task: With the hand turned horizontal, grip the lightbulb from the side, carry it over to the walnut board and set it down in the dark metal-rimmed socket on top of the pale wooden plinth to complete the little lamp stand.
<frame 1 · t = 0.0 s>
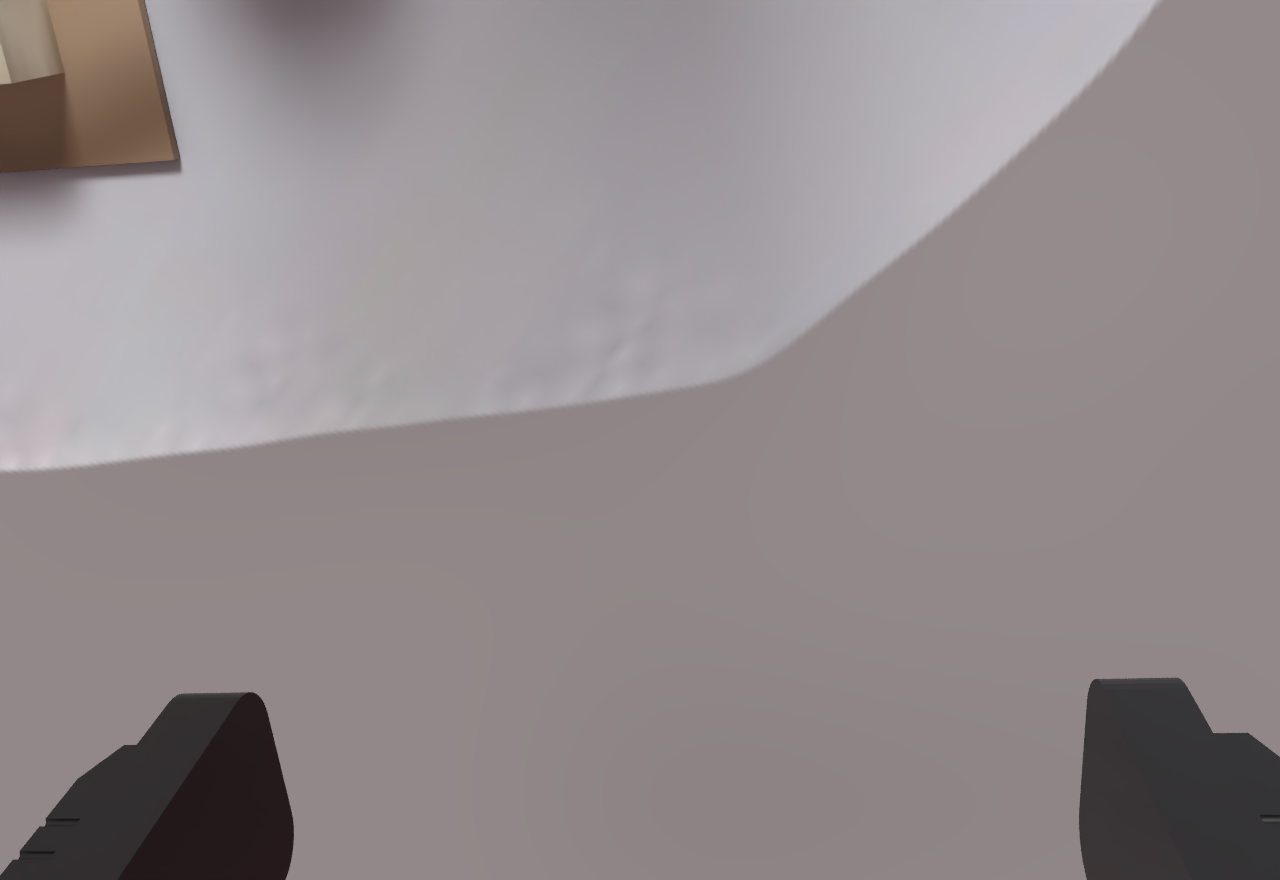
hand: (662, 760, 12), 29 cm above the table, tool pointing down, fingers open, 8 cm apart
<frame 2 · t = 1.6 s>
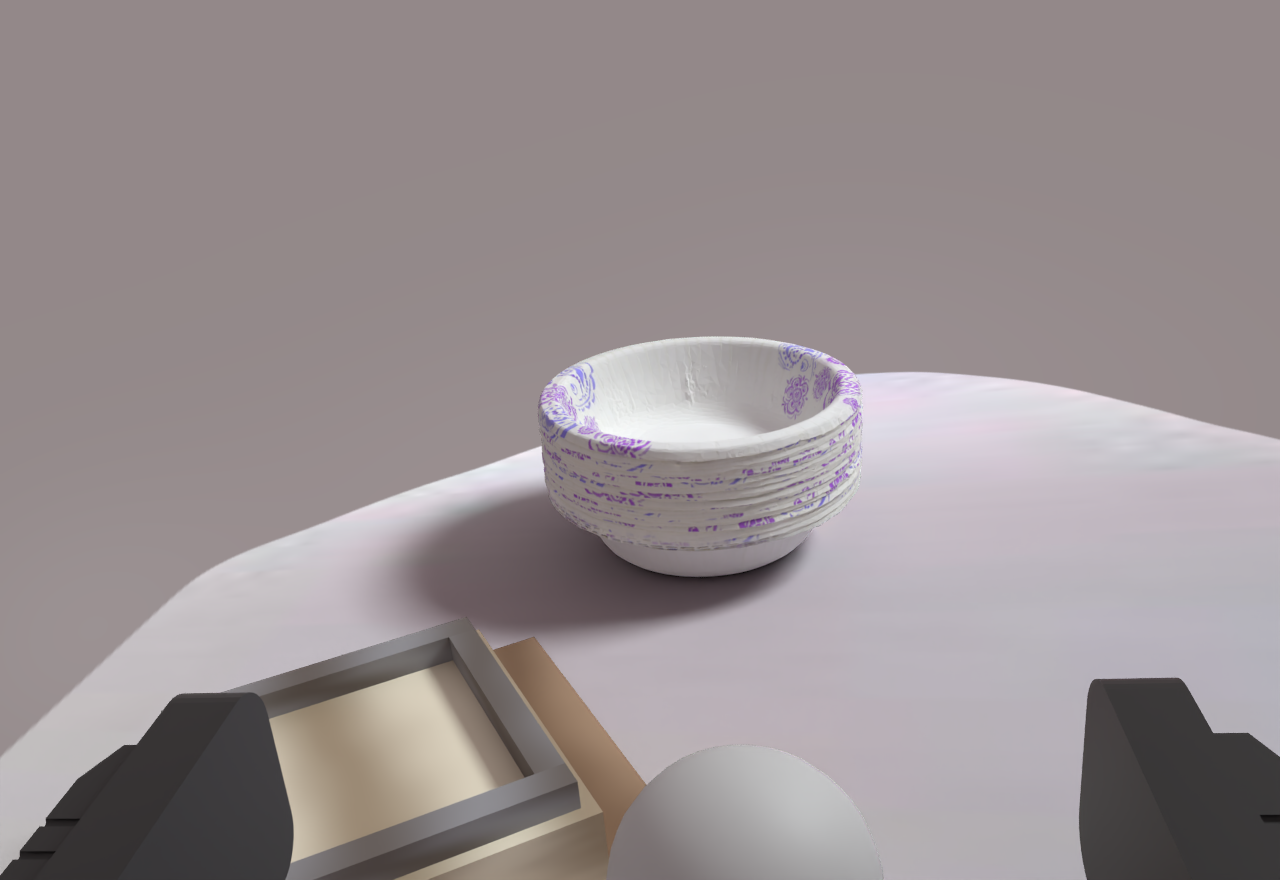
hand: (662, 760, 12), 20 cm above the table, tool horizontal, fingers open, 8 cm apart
paper bowls: (708, 535, 59), on the table
lamp stand: (378, 850, 40), on the table
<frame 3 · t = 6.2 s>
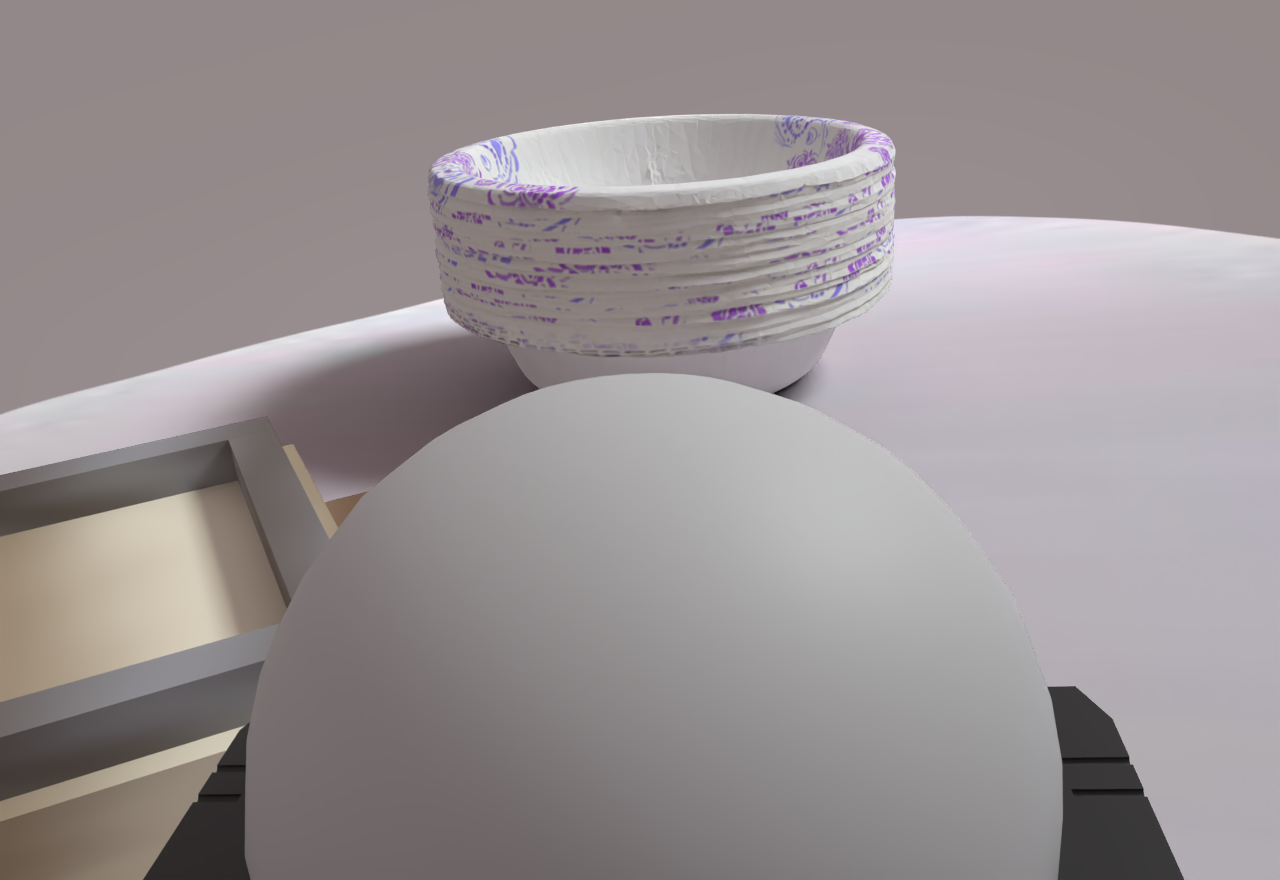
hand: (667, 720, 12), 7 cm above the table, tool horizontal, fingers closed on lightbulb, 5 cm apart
paper bowls: (675, 374, 42), on the table
lamp stand: (66, 778, 23), on the table
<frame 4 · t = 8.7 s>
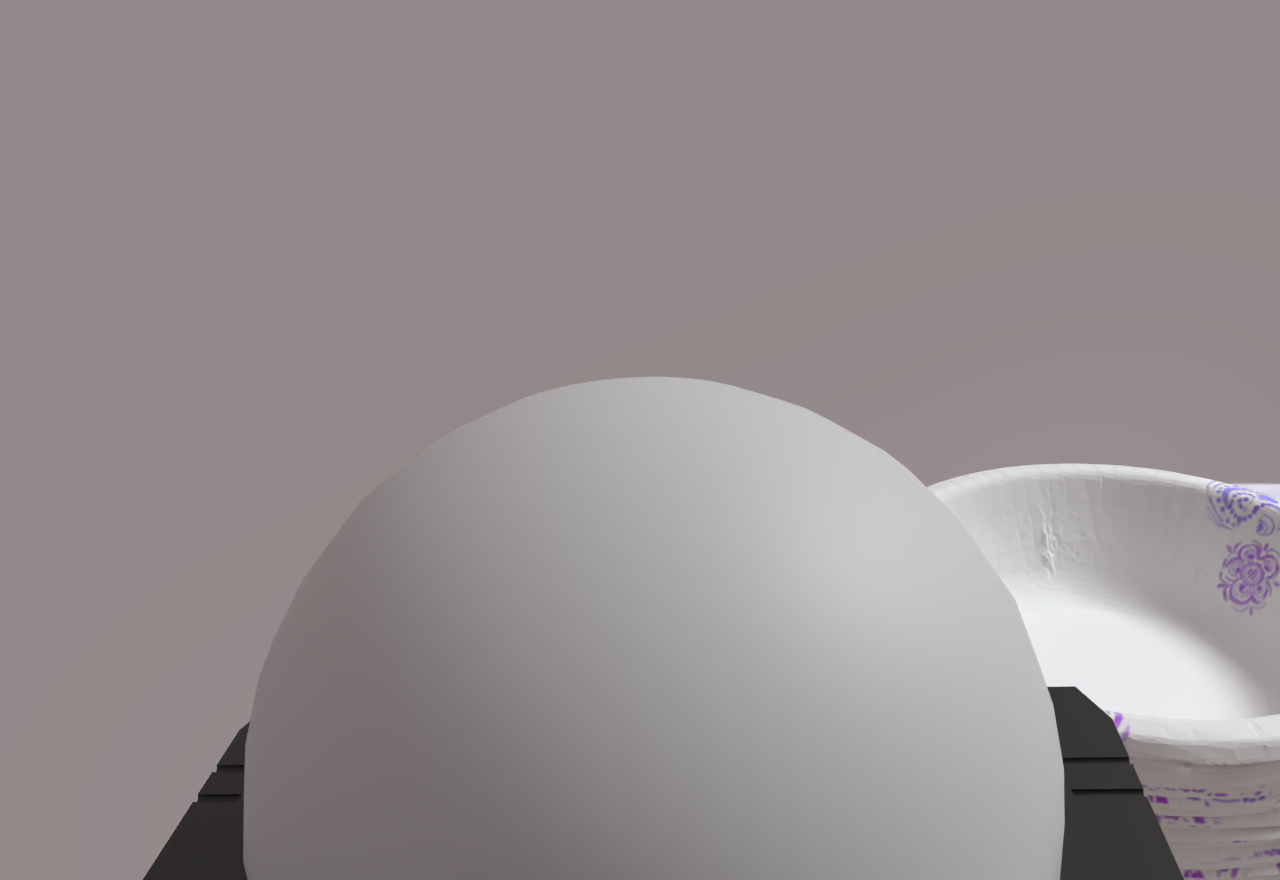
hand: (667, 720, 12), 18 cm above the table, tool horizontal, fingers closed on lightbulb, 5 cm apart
paper bowls: (1102, 801, 36), on the table
when the fingers open (10 cm above the table, at t = 11.7 s): lightbulb stays where it is, resting on lamp stand.
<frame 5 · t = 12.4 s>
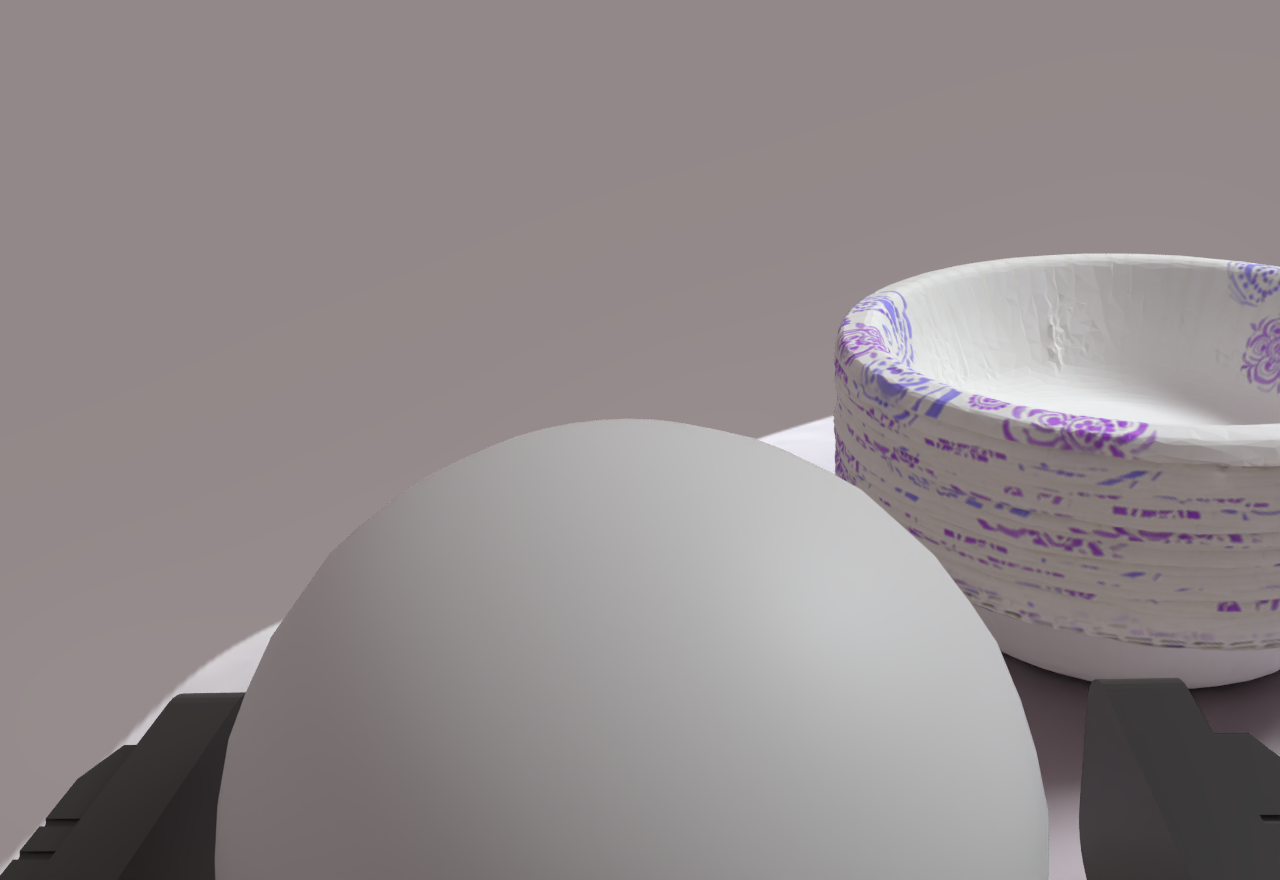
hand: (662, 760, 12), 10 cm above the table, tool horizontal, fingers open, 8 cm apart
paper bowls: (1117, 600, 33), on the table
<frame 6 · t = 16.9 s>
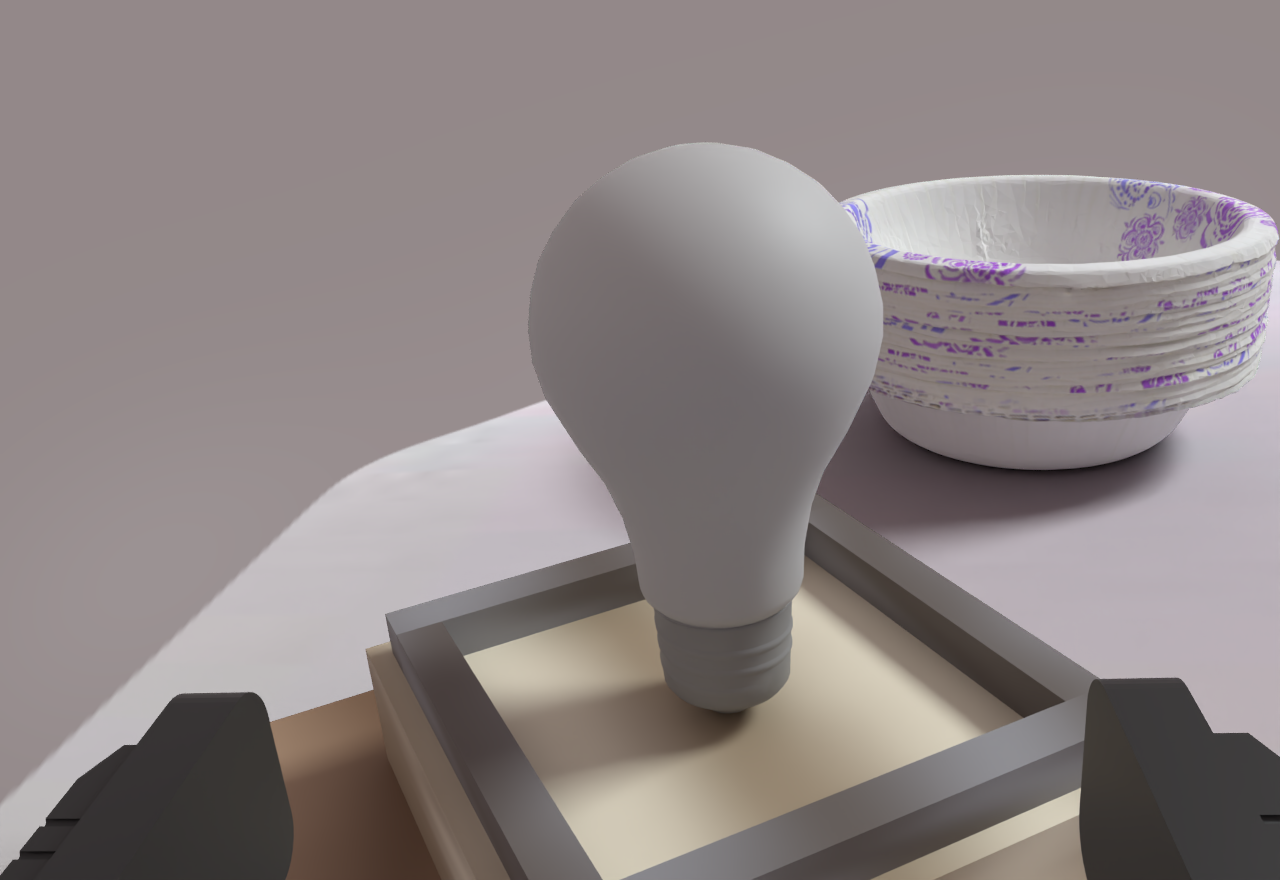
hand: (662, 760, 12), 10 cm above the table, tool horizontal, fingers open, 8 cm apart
paper bowls: (1024, 426, 45), on the table
lightbulb: (729, 712, 24), point 3 cm above the table, touching lamp stand
lamp stand: (736, 834, 25), on the table
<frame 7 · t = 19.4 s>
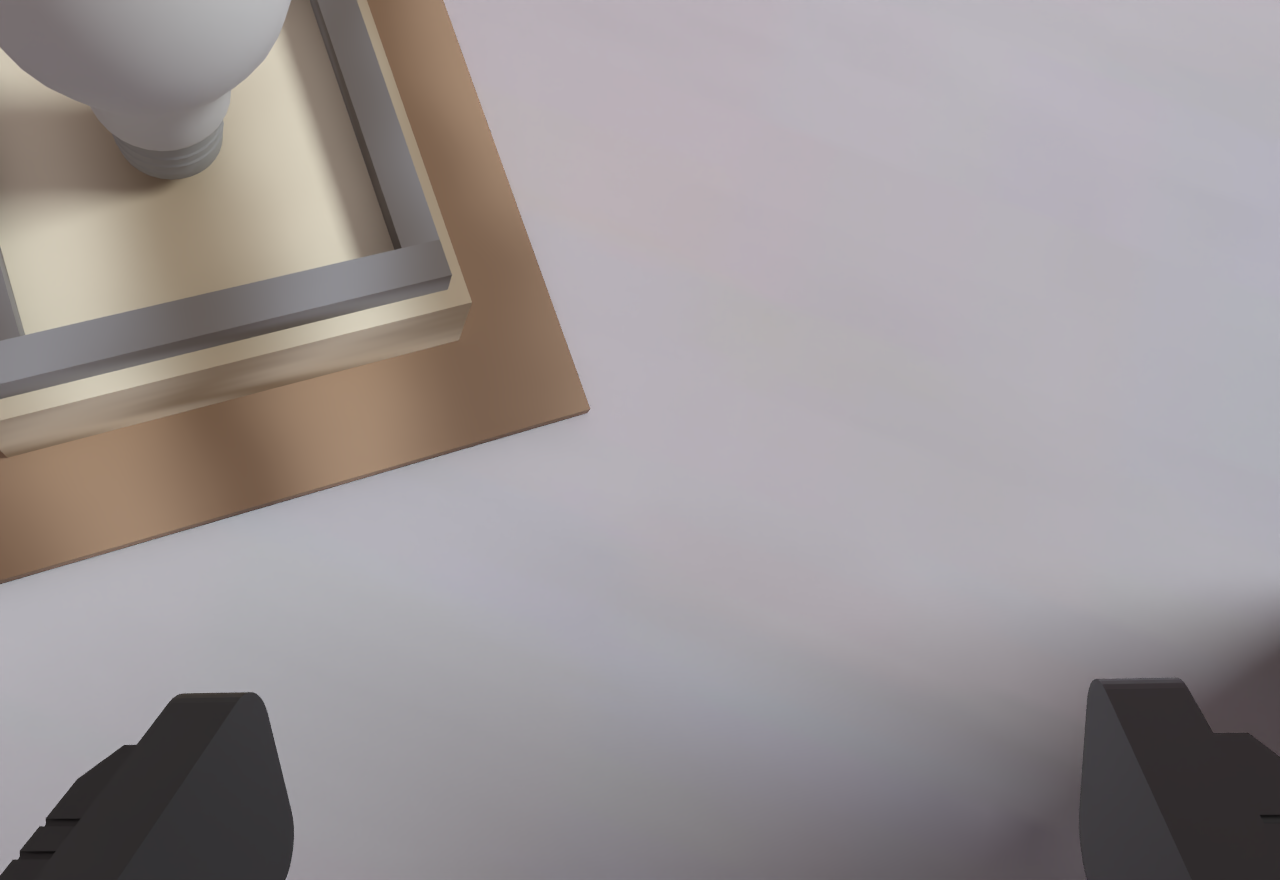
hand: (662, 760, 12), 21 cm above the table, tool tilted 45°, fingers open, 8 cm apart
lightbulb: (174, 152, 31), point 3 cm above the table, touching lamp stand
lamp stand: (186, 202, 34), on the table
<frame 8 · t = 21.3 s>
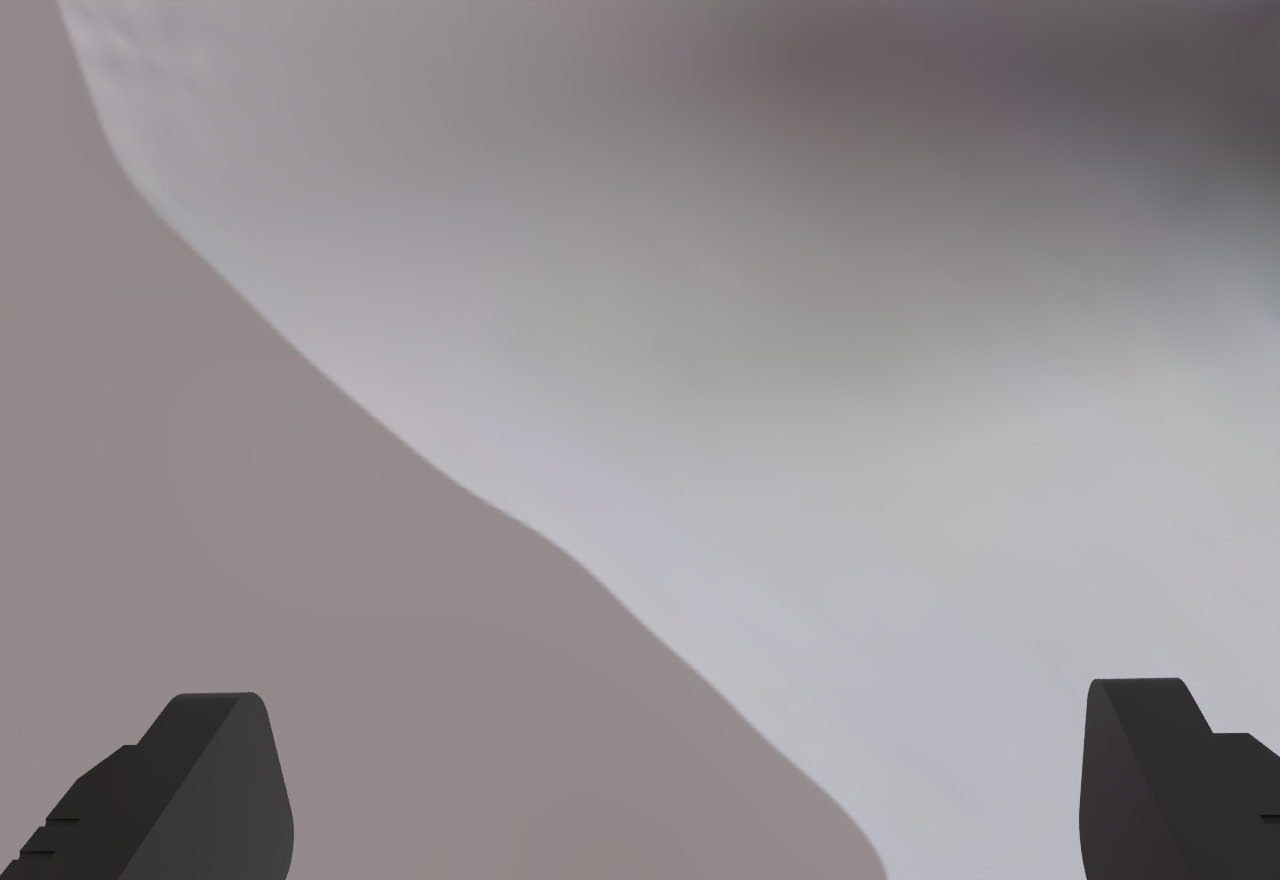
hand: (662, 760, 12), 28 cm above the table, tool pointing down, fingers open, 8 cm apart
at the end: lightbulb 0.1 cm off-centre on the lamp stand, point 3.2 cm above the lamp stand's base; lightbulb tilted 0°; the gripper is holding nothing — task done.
